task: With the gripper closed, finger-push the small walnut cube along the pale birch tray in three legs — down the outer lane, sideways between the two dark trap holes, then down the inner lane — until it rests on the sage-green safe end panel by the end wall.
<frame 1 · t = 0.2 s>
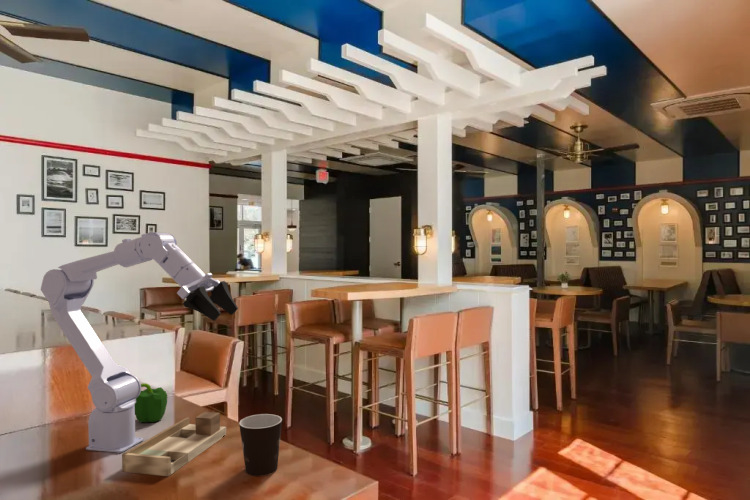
hand: (226, 314, 115), 31 cm above the table, tool tilted 45°, fingers open, 7 cm apart
walnut block: (207, 431, 123), point 2 cm above the table, touching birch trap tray
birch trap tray: (181, 451, 117), on the table
bell pepper: (150, 420, 138), on the table
black cup: (264, 467, 109), on the table
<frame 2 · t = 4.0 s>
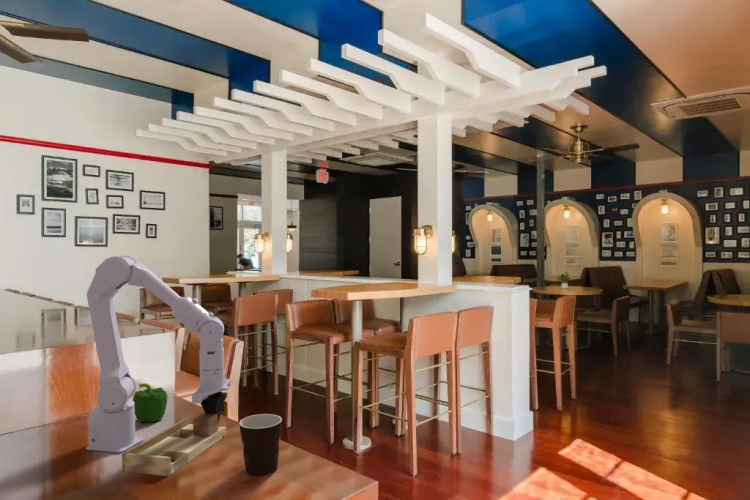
hand: (213, 424, 126), 3 cm above the table, tool pointing down, fingers closed
walnut block: (205, 433, 122), point 2 cm above the table, touching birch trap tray, gripper
everything else where it was.
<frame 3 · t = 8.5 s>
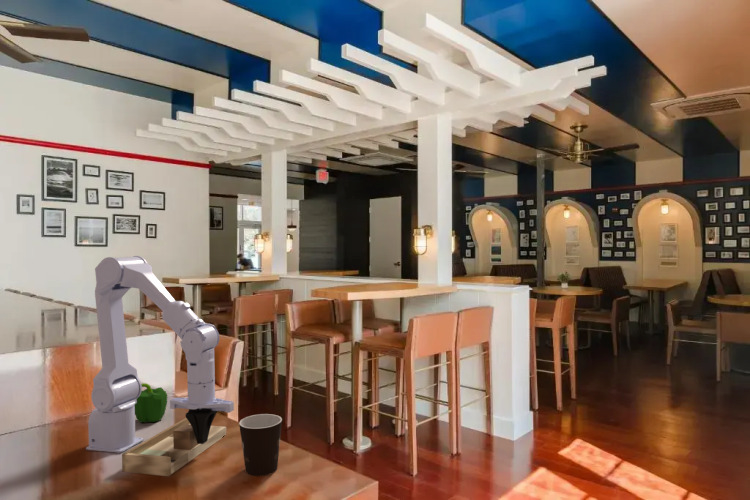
hand: (202, 442, 114), 3 cm above the table, tool pointing down, fingers closed
walnut block: (187, 445, 115), point 2 cm above the table, touching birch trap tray, gripper
everything else where it was.
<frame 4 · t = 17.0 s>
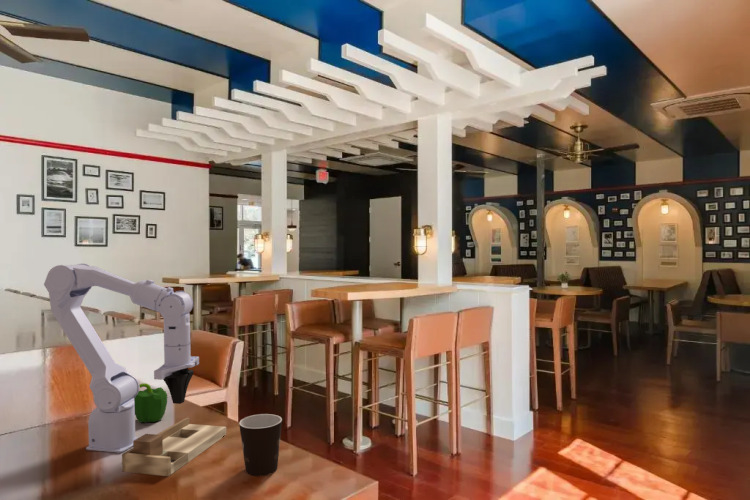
hand: (178, 402, 120), 10 cm above the table, tool pointing down, fingers closed
walnut block: (148, 456, 109), point 2 cm above the table, touching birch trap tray
everything else where it was.
at the end: walnut block 0.9 cm from the target spot on the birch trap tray, point 2.0 cm above the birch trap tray's base; walnut block tilted 0° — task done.
